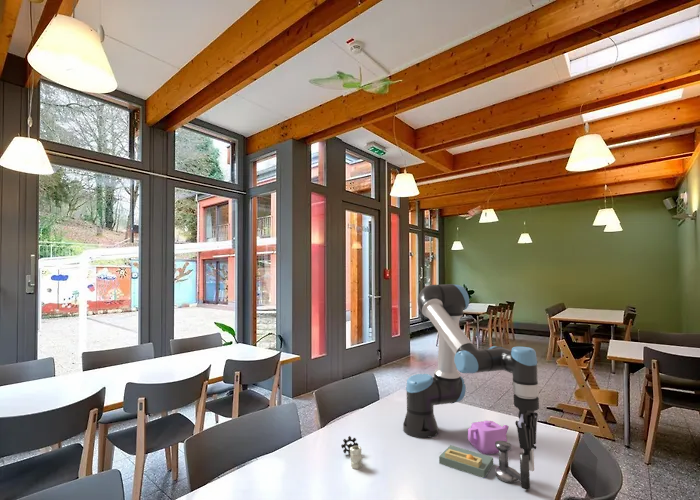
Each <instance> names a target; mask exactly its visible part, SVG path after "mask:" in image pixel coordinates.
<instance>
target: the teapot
mask: <svg viewBox="0 0 700 500" xmlns="http://www.w3.org/2000/svg"><path fill="white" fill-rule="evenodd" d="M508 429H509V426H508V425H507V424H503V426H501V425H500V424H498V423H496V422H495V421H493V420H483V421H476V422H472V423H471V425H470V427H469V428H468V429H467V440H468V441H469V442H470V445H471V446H472V447H473V448H474V449H475V450H477V451H478V453H480V454H483V455H494V454H499V450H498V449H497V448H496V447H495V442H496V441H506V442H508V439H507V438H508V437H507V432H508Z"/></svg>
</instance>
